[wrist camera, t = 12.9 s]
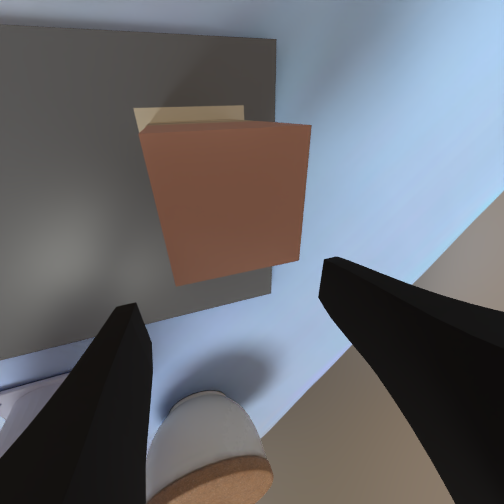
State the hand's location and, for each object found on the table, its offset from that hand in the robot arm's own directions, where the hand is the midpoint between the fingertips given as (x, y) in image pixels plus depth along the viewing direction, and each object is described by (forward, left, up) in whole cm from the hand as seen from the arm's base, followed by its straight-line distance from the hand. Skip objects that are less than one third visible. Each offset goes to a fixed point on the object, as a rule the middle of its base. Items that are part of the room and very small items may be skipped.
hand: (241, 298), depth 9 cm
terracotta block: (+4, 0, -4) cm, 6 cm away
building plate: (+1, +6, -10) cm, 12 cm away
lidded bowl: (-25, +4, -10) cm, 28 cm away
